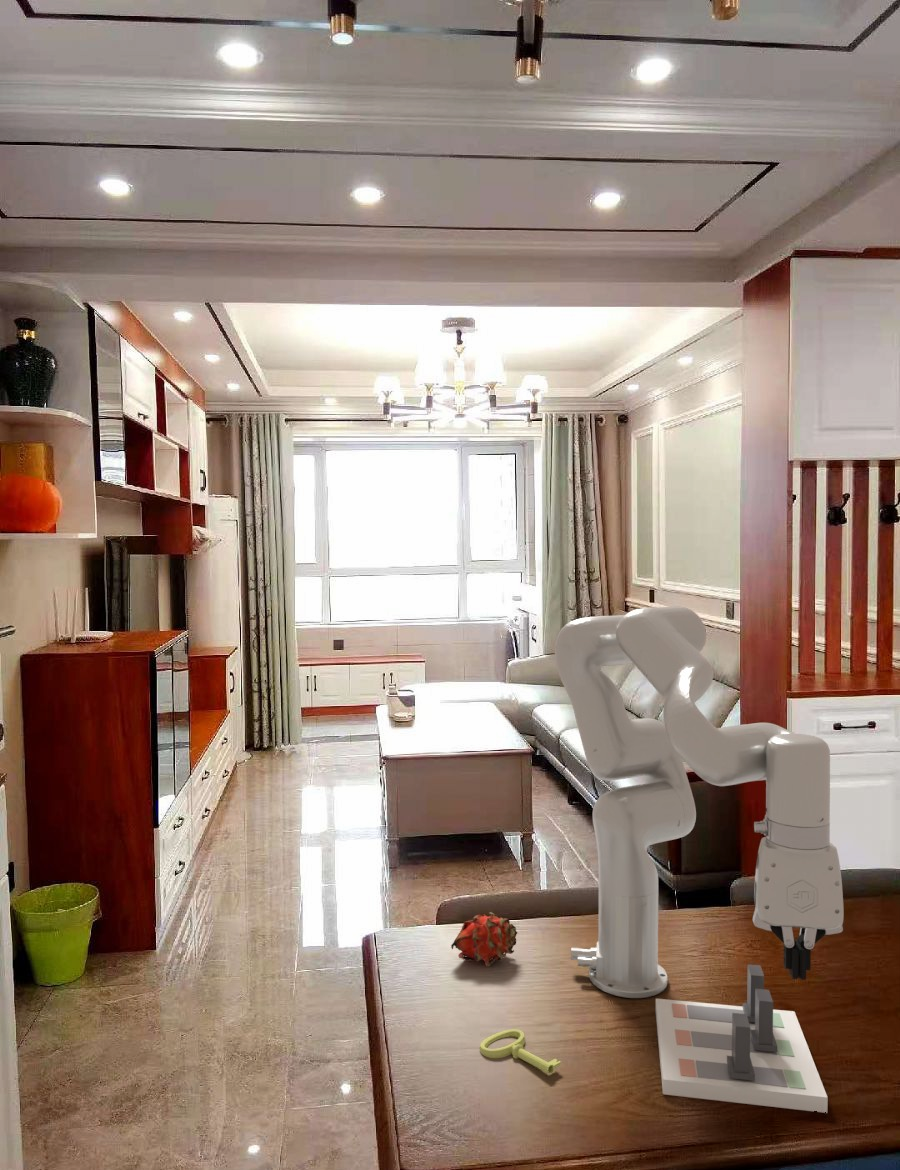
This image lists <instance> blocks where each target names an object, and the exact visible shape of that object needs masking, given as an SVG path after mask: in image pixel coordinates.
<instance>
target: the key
mask: <svg viewBox="0 0 900 1170" xmlns="http://www.w3.org/2000/svg"><path fill="white" fill-rule="evenodd" d="M509 1037H515V1038H517V1039H516V1040H515V1041H513V1042H512V1043H509V1044H508V1045H505V1046H503V1047H499V1048H488V1047H489V1045H491V1044H492V1043H493V1042H495V1041H498V1040H500V1039H503V1038H509ZM525 1043H526V1037H525V1032H523V1031H522V1030H520V1029H516V1028H515V1029H514V1028H512V1029H506V1030H502V1031H499V1032H497V1033H494V1034H492V1035H490V1036H488V1037H487V1038H485V1039H483V1040H482V1041H481V1043H480V1045H479V1052H480V1054H481V1055H483V1056H484V1057H487V1058H490V1059H500V1058H505V1057H508V1056H510V1055H512V1058H513V1059H521V1060H522V1061H524V1062H526V1063H528V1064H530V1065H532V1066H534V1067H535V1068H537V1069H539V1070H541V1071H543V1072H544V1073H547V1074H549V1075H552V1074H553V1072H554V1070H555V1069H557V1067H559V1066H562V1062H561V1061H560V1060H559V1061H558V1059H557V1058H554V1059H552V1060H550V1061H546V1060H544V1059H542V1058H541V1057H539V1056H537V1055H534V1054H533V1053H531V1052H529V1051H527V1050H525V1048H524V1045H525Z"/></svg>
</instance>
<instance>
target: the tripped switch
mask: <svg viewBox="0 0 900 1170" xmlns="http://www.w3.org/2000/svg"><path fill="white" fill-rule="evenodd" d="M727 1065H728V1069H729V1074H730V1078H735V1079H744V1080H753V1081H755V1073H754V1069H753V1066H752V1062H751V1058H750V1025H749V1021H748V1018H747V1014H739V1013H732V1056H727Z"/></svg>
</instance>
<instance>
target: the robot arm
mask: <svg viewBox="0 0 900 1170" xmlns="http://www.w3.org/2000/svg"><path fill="white" fill-rule="evenodd" d="M706 642H707V630H706V627H705V623H704V622H703V621H702V619H701V617H700V616H699V615H698V614H697V613H696V612H695V611H693V610H692V609H690V608H688V607H685V606H658V607H657V606H655V607H643V608H636V609H633V610H631V611H629V612H627V613H626V614H620V615H599V616H597V615H596V616H595V615H594V616H586V617H580V618H577V619H574V620H572V621H569V622H568V623H566V624H565V625H564V626H563V627H562V628H561V629H560V631H559V632H558V635H557V636H556V640H555V645H554V659H555V660H554V661H555V665H556V669H557V673H558V675H559V678H560V681H561V683H562V685H563V687H564V689H565V691H566V693H567V695H568V698H569V700H570V703H571V706H572V709H573V713H574V716H575V720H576V724H577V728H578V729H577V730H578V733H579V736H580V739H581V740H580V742H581V745H582V747H583V751H584V755H585V759H586V762H587V765H588V767H589V770H590V772H591V773H592V774H593V776H594V777H595V778H597V779H598V780H601V781H602V780H603V781H617V780H618V781H619V780H624V779H632V778H639V777H642V778H643V780H644V781H643V782H644V783H643V784H635V785H628V786H623V787H618V788H615V789H611V790H608V791H606V792H605V793H603V794H601V796H599V797H598V798H597V799H596V800H595V802H594V805H593V808H592V825H593V829H594V830H593V831H594V835H595V840H596V847H597V848H596V849H597V858H598V860H597V861H598V941H596V946H595V947H594V946H590V949H587V948H582V947H571V950H570V952H571V953H570V959H571V960H573V961H577V966H578V967H588V977H589V980H590V982H591V983H592V984H593V985H594V986H595V987H596V988H598V989H599V990H601V991H603V992H604V993H607V994H610V995H612V996H616V997H621V998H624V999H626V998H628V999H644V998H651V997H654V996H656V995H659V994H661V993H662V992H664V991H665V989H666V988H667V986H668V974H667V971H666V970H665V968H663V967H662V966H661V965H660V964H659V875H658V874H659V873H658V869H657V867H656V865H655V863H654V861H653V860H652V858H651V856H650V855H649V853H648V849H647V848H648V847H649V846H651V845H655V844H659V843H663V842H667V841H668V842H669V841H672V840H677V839H680V838H681V839H682V838H683V837H686V836H687V835H689V834H690V833H691V831H693V829H694V828H695V825H696V824H695V823H696V820H697V819H696V818H697V811H696V810H697V808H696V803H695V799H694V796H693V792H692V788H691V785H690V781H689V779H688V775H687V772H686V769H685V765H684V762H685V763H686V765H688V767H689V768H690V769H691V770H692V771H693V772H694V773H695V774H696V775H697V776H698V777H699V778H701V780H703V781H704V782H706V783H709V784H711V785H714V786H718V787H726V786H727V787H728V786H733V785H734V786H735V785H740V784H744V783H749V782H756V781H757V782H758V781H765V784H766V785H765V786H766V787H765V815H764V818H763V820H760V821H754V822H753V828H754V829H753V830H754V833H760V834H761V835H762V834H763V835H764V837H761V839H760V843H759V847H758V851H757V855H756V856H757V858H756V866H755V873H754V874H755V876H754V887H753V889H754V891H753V893H754V894H753V899H754V900H753V901H754V906H755V908H754V912H753V916H752V922H753V925H754V927H756V928H758V929H761V930H765V931H769V932H772V933H773V934H774V935H775V936H776V937H777V938H778V939H779V940H780V941H781V942H782V943H783V951H782V952H783V956H782V957H783V958H782V959H783V960H782V961H783V962H782V963H783V966H784V969H785V970H788V973H789V974H790V977H791V978H792V980H797V979H800V980H802V981H803V980H804V981H806V980H807V971H811V968H812V966H811V965H812V963H811V955H812V953H811V952H812V949H813V948H814V947H815V944H816V943H817V942H818V941H820V940H821V939H822V938H823V937H825V936H826V935H828V936H829V935H835V934H840V933H842V932H843V931H844V928H843V923H844V914H845V913H844V897H843V896H844V895H843V894H844V893H843V883H842V881H843V880H842V873H841V870H842V869H841V865H840V858H839V853H838V849H837V847H836V846H835V845H834V844H833V842H831V841H830V839H831V835H830V834H831V833H830V831H831V829H830V826H831V825H830V824H831V822H830V821H831V820H830V819H831V817H830V816H831V815H830V814H831V813H830V811H831V807H830V806H831V805H830V804H831V789H830V788H831V751H830V747H829V744H828V743H827V742H826V741H825V740H824V739H823V738H820V737H817V736H815V735H811V734H805V733H804V734H803V733H795V732H793V731H791V730H788V729H787V728H784V727H782V726H780V725H777V724H775V723H771V722H755V723H748V724H746V723H745V724H737V725H729V726H722V727H716V726H715V725H714V724H713V723H711V721H710V720H708V718H707V717H706V716H705V715H704V714H703V713H702V711H701V710H700V709H699V708H698V706H697V705H696V703H697V701H699V699H701V698H702V697H703V696H704V695H705V693H706V692H707V691H708V690H709V688H710V687H711V684H712V682H713V679H714V668H713V666H712V664H711V663H710V662H709V660H707V659H706V658H705V657H704V655H702V654H701V652H702V650H703V649H704V647H705V645H706ZM623 665H634V666H635V667H636V668H637V669H638V671H639V672H640V673H641V674H642V675H643V676H644V677H645V679H646V680H647V681H648V682H649V684H651V686H652V687H653V688H654V689H655V691H657V692H658V694H659V695H660V696H661V697H662V698H663V700H664V703H663V711H662V713H663V721H664V723H663V722H662V721H661V720H659V719H655V718H649V717H645V718H644V717H643V718H636V719H635V718H633V719H631V718H630V717H629V714H628V712H627V710H626V706H625V703H624V699H623V698H624V697H623V696H622V694H621V691H620V690H619V688H618V687H617V685H616V683H614V682H613V680H612V679H611V678H610V677H608V675H606V674H605V673H604V672H603V671H602V668H603V667H610V666H612V667H613V666H623ZM793 928H799V929H800V930H799V936H798V937H797V938H796V939H795V938H794V932H793Z"/></svg>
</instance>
